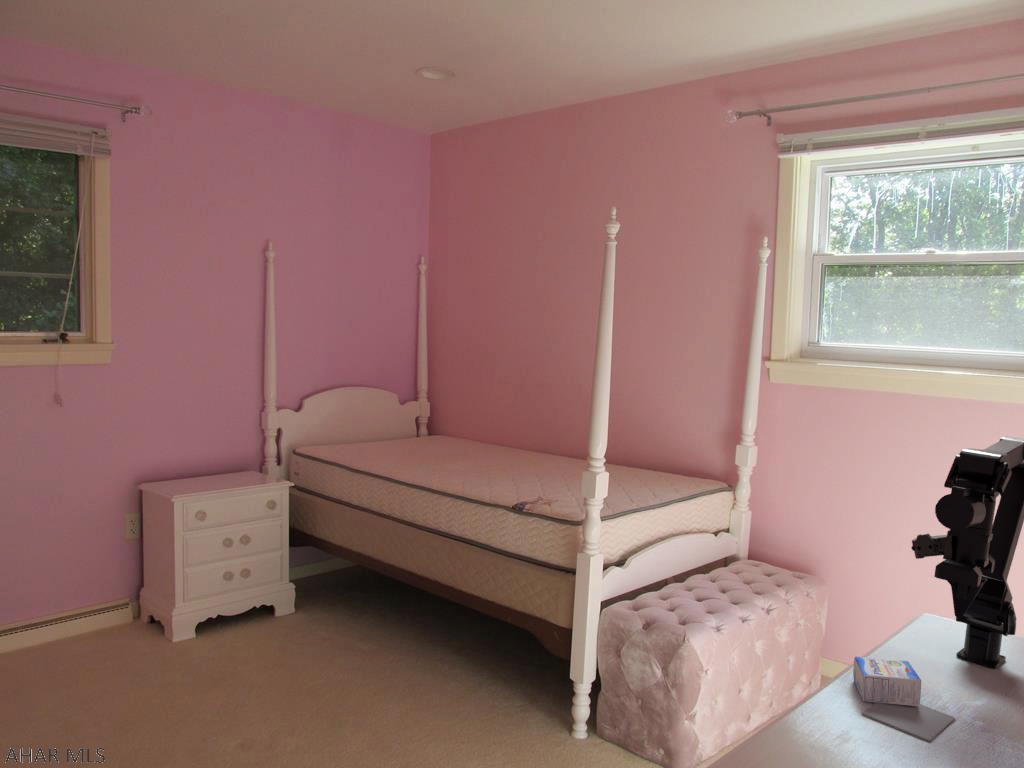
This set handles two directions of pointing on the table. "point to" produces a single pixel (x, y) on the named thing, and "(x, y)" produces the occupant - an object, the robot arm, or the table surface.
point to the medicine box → (887, 681)
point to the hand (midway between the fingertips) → (958, 616)
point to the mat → (910, 719)
